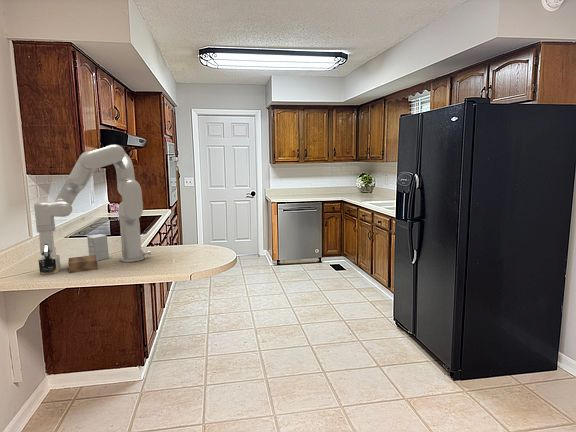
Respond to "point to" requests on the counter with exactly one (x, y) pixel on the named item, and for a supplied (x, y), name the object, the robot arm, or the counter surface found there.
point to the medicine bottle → (55, 261)
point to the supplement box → (98, 246)
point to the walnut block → (82, 264)
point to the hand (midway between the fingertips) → (49, 264)
